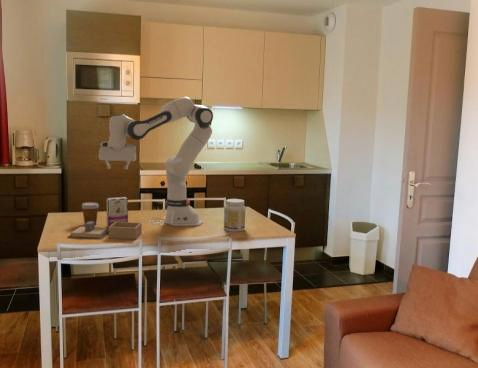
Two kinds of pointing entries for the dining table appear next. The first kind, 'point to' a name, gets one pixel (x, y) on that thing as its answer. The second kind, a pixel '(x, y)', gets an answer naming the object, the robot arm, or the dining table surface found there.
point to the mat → (89, 237)
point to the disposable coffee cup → (90, 211)
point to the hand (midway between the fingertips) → (117, 168)
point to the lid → (89, 231)
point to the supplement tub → (234, 215)
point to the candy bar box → (116, 210)
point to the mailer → (125, 230)
